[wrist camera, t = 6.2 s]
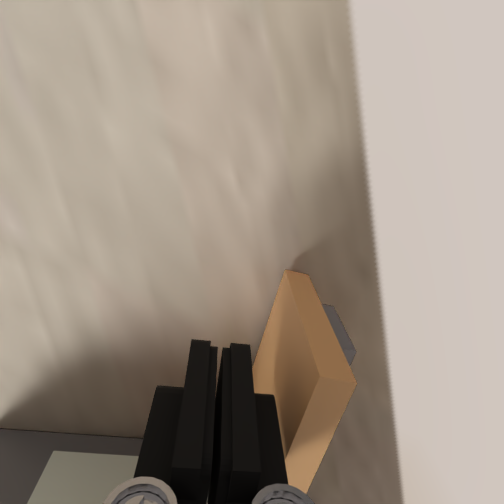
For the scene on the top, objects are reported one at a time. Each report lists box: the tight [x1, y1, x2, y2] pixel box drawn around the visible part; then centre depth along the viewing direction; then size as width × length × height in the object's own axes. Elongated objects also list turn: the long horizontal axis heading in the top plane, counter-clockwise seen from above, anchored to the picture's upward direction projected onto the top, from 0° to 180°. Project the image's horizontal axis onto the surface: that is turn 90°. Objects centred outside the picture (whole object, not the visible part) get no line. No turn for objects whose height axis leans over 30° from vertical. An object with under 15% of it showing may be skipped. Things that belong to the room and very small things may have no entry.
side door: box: [252, 270, 357, 494], centre depth 13 cm, size 2×9×6 cm, turn 165°
